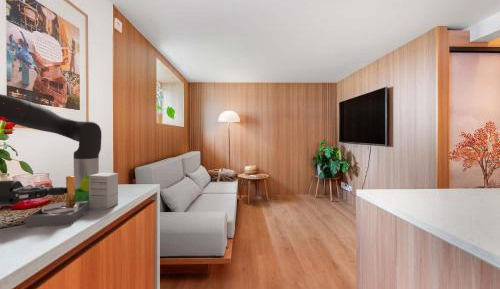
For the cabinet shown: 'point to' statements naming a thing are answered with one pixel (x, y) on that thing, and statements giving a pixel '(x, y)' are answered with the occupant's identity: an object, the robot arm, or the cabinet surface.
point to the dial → (70, 200)
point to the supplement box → (103, 190)
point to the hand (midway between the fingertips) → (65, 190)
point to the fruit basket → (82, 190)
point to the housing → (57, 216)
